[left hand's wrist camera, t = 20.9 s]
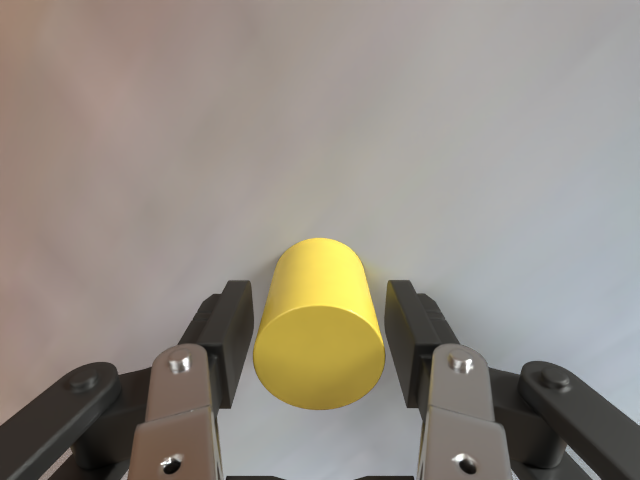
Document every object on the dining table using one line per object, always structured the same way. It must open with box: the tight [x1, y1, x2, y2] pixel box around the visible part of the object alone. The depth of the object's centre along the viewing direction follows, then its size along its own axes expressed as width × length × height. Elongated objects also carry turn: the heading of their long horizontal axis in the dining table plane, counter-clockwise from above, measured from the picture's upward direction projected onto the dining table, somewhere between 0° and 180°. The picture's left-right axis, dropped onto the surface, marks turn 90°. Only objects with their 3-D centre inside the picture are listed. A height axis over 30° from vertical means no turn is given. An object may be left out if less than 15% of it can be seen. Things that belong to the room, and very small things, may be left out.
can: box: [253, 238, 385, 410], centre depth 12 cm, size 4×4×5 cm
